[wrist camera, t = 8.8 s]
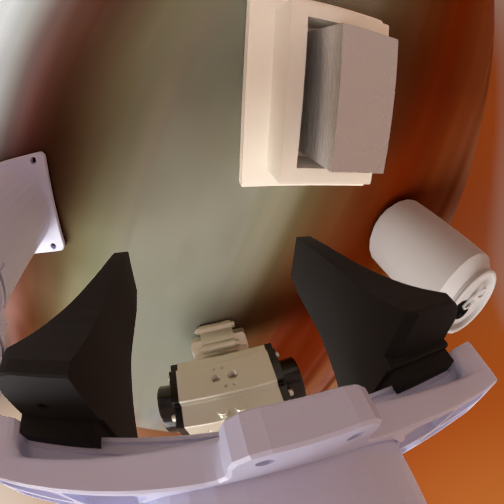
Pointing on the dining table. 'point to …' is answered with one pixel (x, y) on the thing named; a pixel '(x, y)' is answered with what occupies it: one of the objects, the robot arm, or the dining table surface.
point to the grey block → (348, 98)
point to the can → (432, 258)
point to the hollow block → (284, 91)
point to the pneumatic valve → (224, 380)
